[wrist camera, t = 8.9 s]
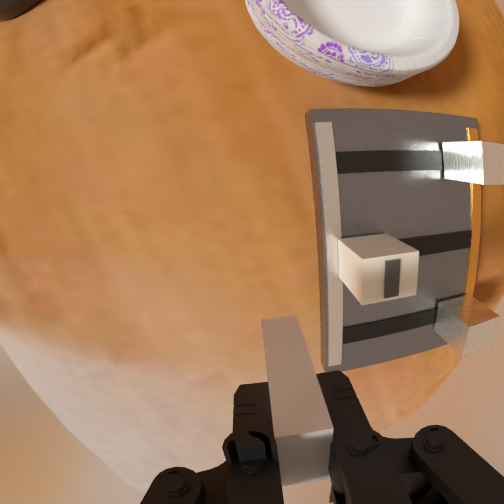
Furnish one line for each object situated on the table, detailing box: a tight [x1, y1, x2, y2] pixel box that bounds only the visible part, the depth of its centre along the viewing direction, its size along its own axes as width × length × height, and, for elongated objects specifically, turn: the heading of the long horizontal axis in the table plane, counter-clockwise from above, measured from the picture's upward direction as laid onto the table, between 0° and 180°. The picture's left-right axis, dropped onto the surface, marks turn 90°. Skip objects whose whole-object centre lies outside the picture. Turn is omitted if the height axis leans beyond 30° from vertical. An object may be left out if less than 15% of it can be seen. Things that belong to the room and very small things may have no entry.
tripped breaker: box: [338, 233, 419, 305], centre depth 20 cm, size 4×3×5 cm
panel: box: [305, 109, 504, 373], centre depth 21 cm, size 16×22×7 cm
